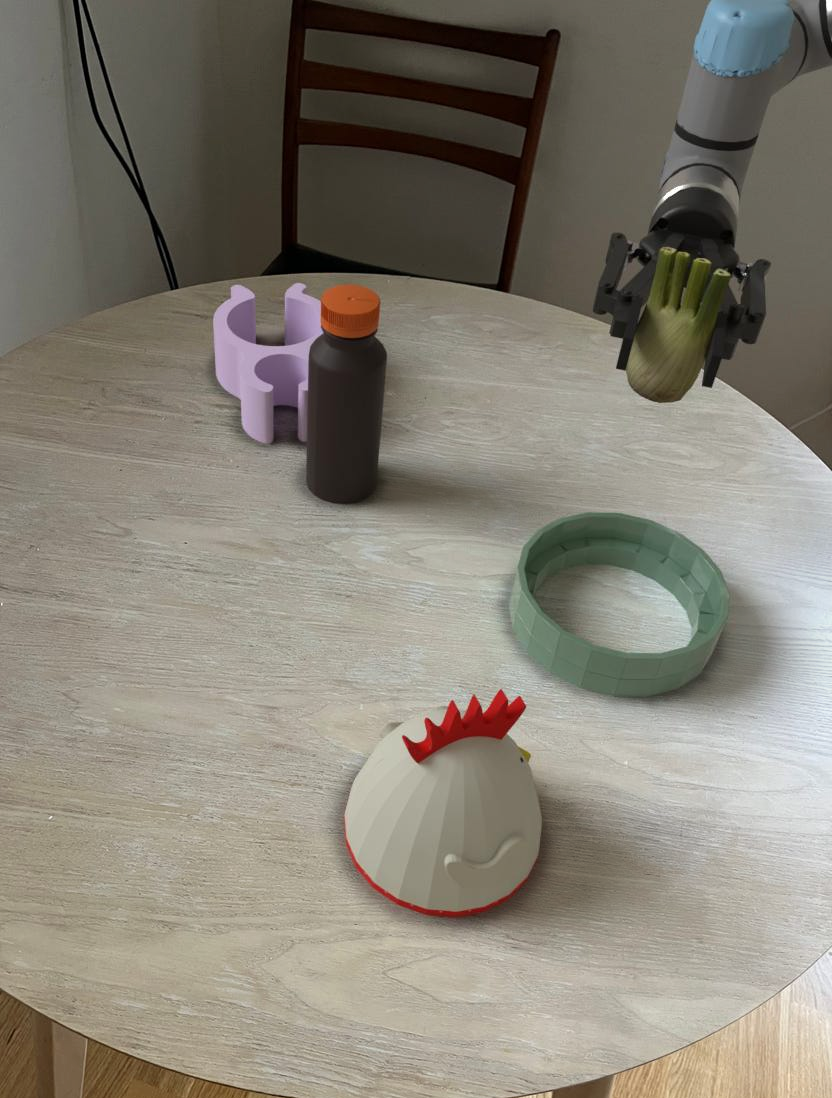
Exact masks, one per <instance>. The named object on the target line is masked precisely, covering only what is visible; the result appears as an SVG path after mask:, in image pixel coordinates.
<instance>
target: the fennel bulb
mask: <svg viewBox="0 0 832 1098" xmlns="http://www.w3.org/2000/svg"><path fill="white" fill-rule="evenodd" d="M689 259H690V254H688V253H687V252H678V253H677V250H676V249H674V248H671V247H663V248H661V249H660V251H659V256H658V261H657V266H656V272H655V276H654V280H653V284H652V288H651V292H650V296H649V299H648V301H647V302H646V303H645V306H644V309H643V311H642V312H641V315H640V317H639V319H638V324H637V328H636V332H635V337H634V341H633V344H632V348H631V352H630V356H629V359H628V363H627V367H626V370H625V373H626V377H627V378H626V379H627V383H628V385H629V387H630V388H631V389H632V391H633V392H634V393H636V394H638V396H640V397H642V398H644V399H645V400H648V401H650V402H652V403H658V404H667V403H670V404H671V403H676V402H679V401H681V400H682V399H683V397H684V396H685V395H686V394H687V393H688V392H689V391H690V390H691V389H692V387H693V386H694V384H695V382H696V380H697V379H698V377H699V375H700V373H701V371H702V368H703V367H704V365H705V359H706V356H707V352H708V349H709V346H710V342H711V338H712V334H713V330H714V325H715V322H716V318H717V314H718V311H719V308H720V305H721V302H722V300H723V296H724V294H725V291H726V288H727V286H728V284H730V281H731V279H732V278H731V275H730V273H728V272H727V271H725V270H722V269H720V268H719V269H717V270H716V271H715V272H714V273H713V276H712V278H711V281H710V283H709V285H708V288H707V290H706V292H705V295H704V297H703V292H704V288H705V285H706V282H707V278H708V275H709V271H710V267H711V262H710V261H709V260H707V259H705V258H697V259H695V260H694V261H693V264H692V267H691V271H690V275H689V279H688V282H687V287H686V288H684V283H685V279H686V273H687V269H688V265H689ZM674 265H675V266H674ZM730 278H731V279H730ZM684 289H685V291H684ZM683 293H684V295H683ZM702 297H703V300H702ZM701 300H702V302H701Z"/></svg>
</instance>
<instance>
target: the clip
mask: <svg viewBox="0 0 832 1098" xmlns="http://www.w3.org/2000/svg"><path fill="white" fill-rule="evenodd" d="M320 321H321V300H319V299H317V298H315V297H313V296H311V295H308V294H307V285H306V284H304V283H302V282H296V283H294V284H292V285H291V286H290V287H288V289H287V290H286V291H285V293H284V345H279V346H277V345H273V346H272V345H263V344H257V329H256V327H257V326H256V325H257V324H256V295H255V294H254V293H253V291H252V290H250V289H249V288H246V287H245V286H243V285H241V284H234V285H232V286H231V287H230V298H229V299H227V300H225V301H224V302H223V303H221V304H220V305H219V306H218V307H217V309H216V310H215V312H214V314H213V318H212V325H213V341H214V342H213V344H214V345H213V346H214V361H215V362H214V363H215V364H214V365H215V375H216V379H217V381H218V383H219V384H220V385H221V387H222V388H223V389H224V390H225V391H226V392H228V393H229V394H231V395H232V396H234V397H236V398H238V399H239V400H240V414H241V427H242V428H243V430H244V432H245V433H246V434H247V436H249V437H251V438H252V439H254V440H255V441H258V442H259V443H262V444H265V445H266V444H267V445H268V444H269V445H270V444H272V443H273V441H274V439H275V438H274V436H275V435H274V406H290V407H295V408H297V438H298V440H299V441H300V442H302V443H307V409H308V359H309V350H310V346H311V345H312V343H313V342H314V341H315V340H316V339H317V338H318V337H319V336H320V335H322V334H323V331H322V329H321V322H320Z"/></svg>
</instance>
